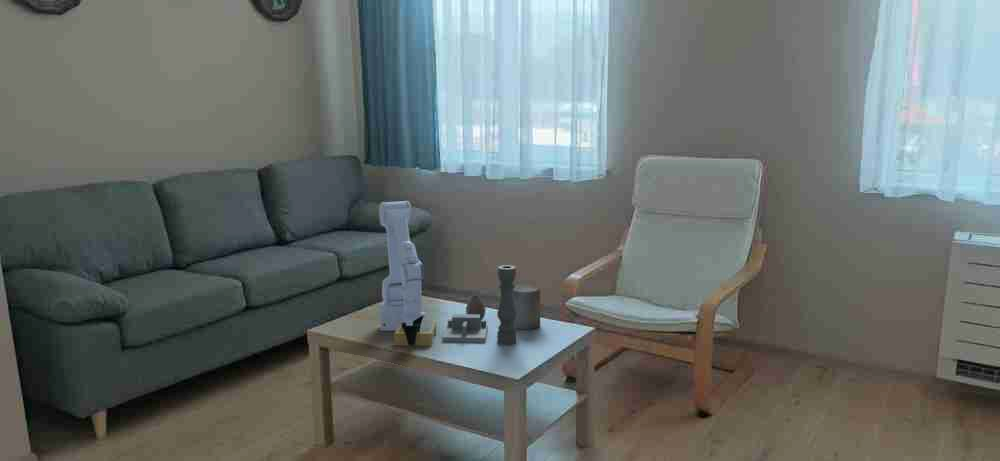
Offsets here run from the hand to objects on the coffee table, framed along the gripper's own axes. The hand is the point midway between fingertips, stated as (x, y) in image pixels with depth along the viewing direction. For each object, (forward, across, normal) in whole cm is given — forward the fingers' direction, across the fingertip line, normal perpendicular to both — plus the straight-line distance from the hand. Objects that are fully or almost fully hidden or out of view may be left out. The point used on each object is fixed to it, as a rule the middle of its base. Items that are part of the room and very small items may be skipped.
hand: (413, 340), depth 245 cm
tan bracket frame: (+1, +5, 0) cm, 5 cm away
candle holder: (+2, +4, -30) cm, 30 cm away
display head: (+1, +10, -16) cm, 19 cm away
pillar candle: (+2, +21, -36) cm, 42 cm away
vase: (+2, +27, -18) cm, 32 cm away
